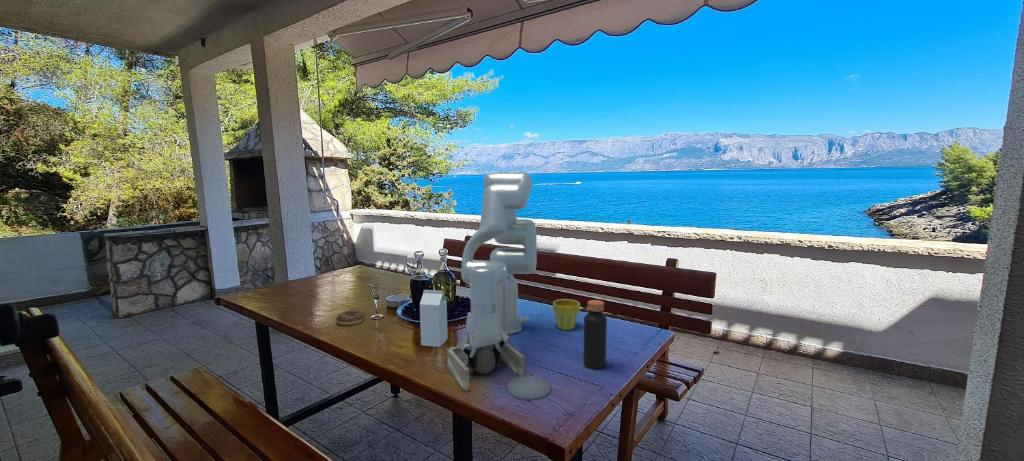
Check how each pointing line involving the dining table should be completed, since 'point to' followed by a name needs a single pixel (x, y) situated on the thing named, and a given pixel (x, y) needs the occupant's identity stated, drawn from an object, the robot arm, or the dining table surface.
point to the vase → (484, 360)
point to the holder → (460, 359)
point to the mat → (529, 387)
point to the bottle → (595, 335)
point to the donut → (350, 317)
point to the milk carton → (433, 318)
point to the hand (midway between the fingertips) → (484, 364)
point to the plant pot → (566, 313)
